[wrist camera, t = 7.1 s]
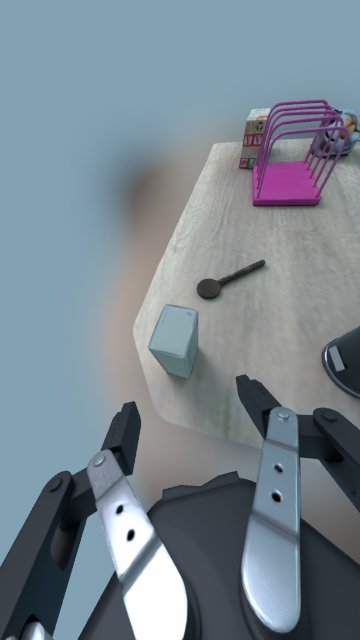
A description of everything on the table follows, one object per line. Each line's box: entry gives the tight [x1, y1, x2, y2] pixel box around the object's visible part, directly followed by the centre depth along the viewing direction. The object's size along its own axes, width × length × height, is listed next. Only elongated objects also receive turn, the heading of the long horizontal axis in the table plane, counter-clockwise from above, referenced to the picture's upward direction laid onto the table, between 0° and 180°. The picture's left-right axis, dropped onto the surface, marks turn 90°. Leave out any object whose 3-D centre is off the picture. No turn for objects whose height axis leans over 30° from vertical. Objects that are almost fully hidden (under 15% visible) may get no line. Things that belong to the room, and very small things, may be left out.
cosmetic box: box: [148, 304, 198, 379], centre depth 24 cm, size 6×4×12 cm
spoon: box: [197, 260, 265, 299], centre depth 37 cm, size 17×5×1 cm, turn 117°
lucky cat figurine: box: [310, 108, 360, 157], centre depth 58 cm, size 15×12×14 cm
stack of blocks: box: [239, 108, 270, 168], centre depth 64 cm, size 21×6×12 cm, turn 161°
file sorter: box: [253, 100, 349, 205], centre depth 49 cm, size 17×25×16 cm
